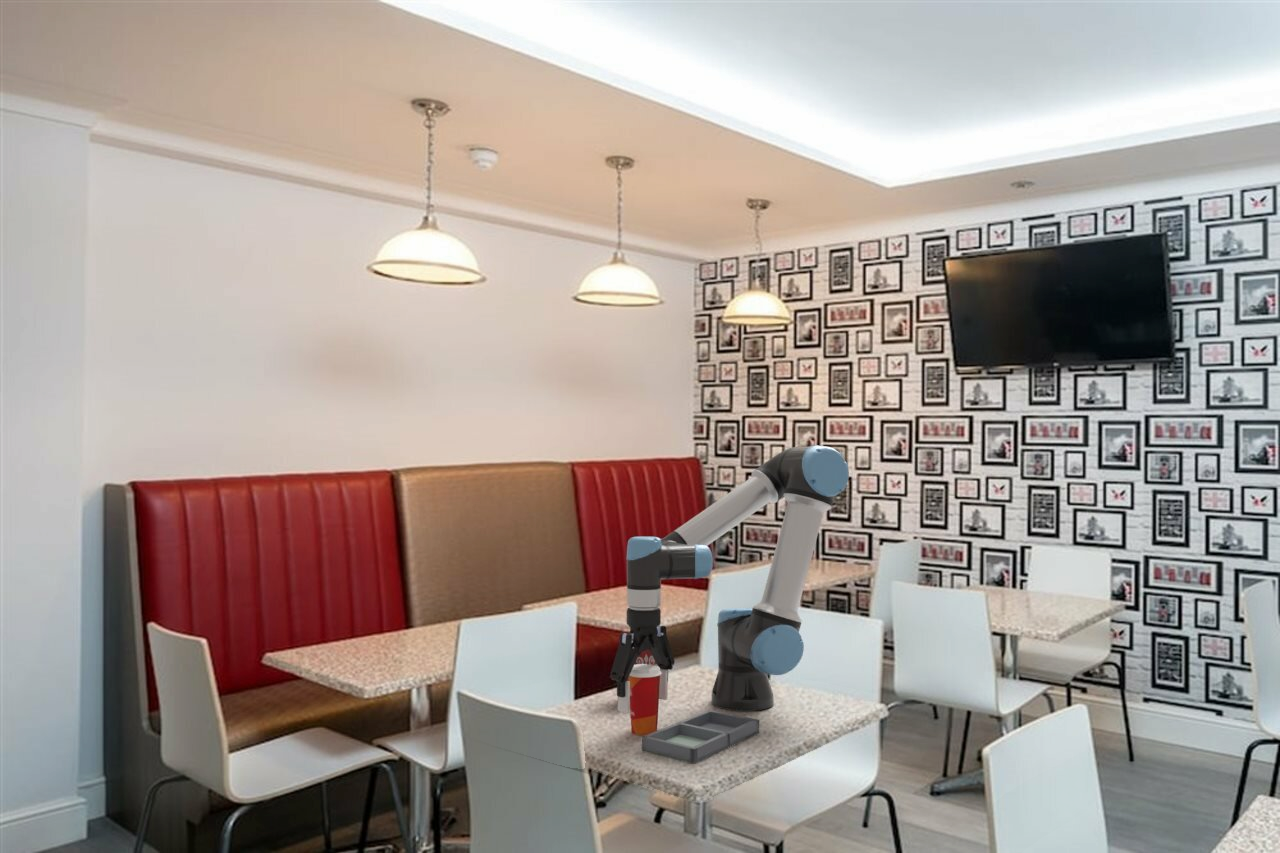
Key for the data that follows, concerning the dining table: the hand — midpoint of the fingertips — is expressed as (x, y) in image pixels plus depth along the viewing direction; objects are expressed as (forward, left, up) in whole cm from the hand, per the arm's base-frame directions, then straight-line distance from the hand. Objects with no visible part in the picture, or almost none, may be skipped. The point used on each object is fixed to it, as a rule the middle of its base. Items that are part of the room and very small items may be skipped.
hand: (643, 705), depth 194 cm
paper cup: (0, 0, -6) cm, 6 cm away
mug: (-18, -17, -6) cm, 26 cm away
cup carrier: (-2, +14, -6) cm, 15 cm away
